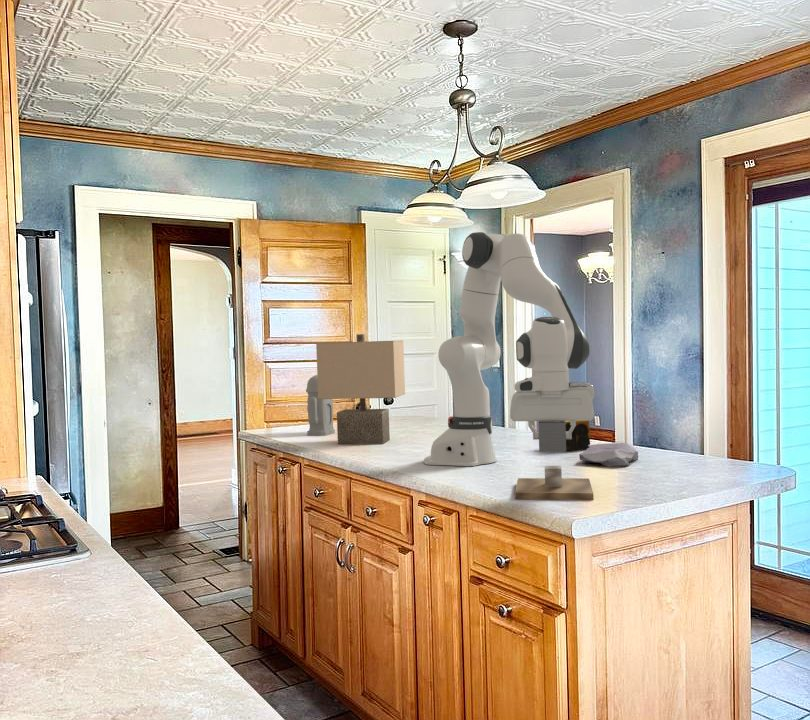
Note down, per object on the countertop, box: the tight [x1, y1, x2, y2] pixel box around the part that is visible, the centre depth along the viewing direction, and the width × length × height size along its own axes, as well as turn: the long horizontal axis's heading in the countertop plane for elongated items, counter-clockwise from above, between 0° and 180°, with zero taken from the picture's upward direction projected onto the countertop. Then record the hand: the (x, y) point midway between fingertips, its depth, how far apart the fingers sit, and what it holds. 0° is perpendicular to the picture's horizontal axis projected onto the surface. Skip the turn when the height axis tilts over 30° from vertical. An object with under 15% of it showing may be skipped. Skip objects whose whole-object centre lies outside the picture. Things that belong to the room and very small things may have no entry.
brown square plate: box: [514, 465, 595, 501], centre depth 182 cm, size 18×18×6 cm
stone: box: [578, 442, 639, 467], centre depth 222 cm, size 20×15×5 cm
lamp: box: [315, 333, 406, 445], centre depth 281 cm, size 29×18×41 cm, turn 79°
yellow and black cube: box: [565, 421, 591, 452], centre depth 249 cm, size 10×10×10 cm
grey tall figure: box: [305, 374, 336, 437], centre depth 311 cm, size 15×10×25 cm
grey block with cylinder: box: [537, 421, 566, 453], centre depth 183 cm, size 6×9×7 cm
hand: (552, 439), depth 182 cm, fingers closed on grey block with cylinder, 6 cm apart
